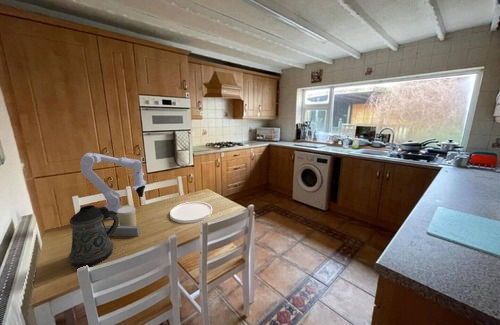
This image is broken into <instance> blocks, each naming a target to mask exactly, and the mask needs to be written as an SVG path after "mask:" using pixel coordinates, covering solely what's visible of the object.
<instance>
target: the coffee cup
mask: <svg viewBox="0 0 500 325" xmlns="http://www.w3.org/2000/svg"><path fill="white" fill-rule="evenodd" d="M136 210H137V209H136V208H135V206H132V205H129V206H128V205H126V206H122V208H120V209H119V210H118V211H117V214H118V216H119V226H137V215H136V213H137V212H136Z"/></svg>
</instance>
